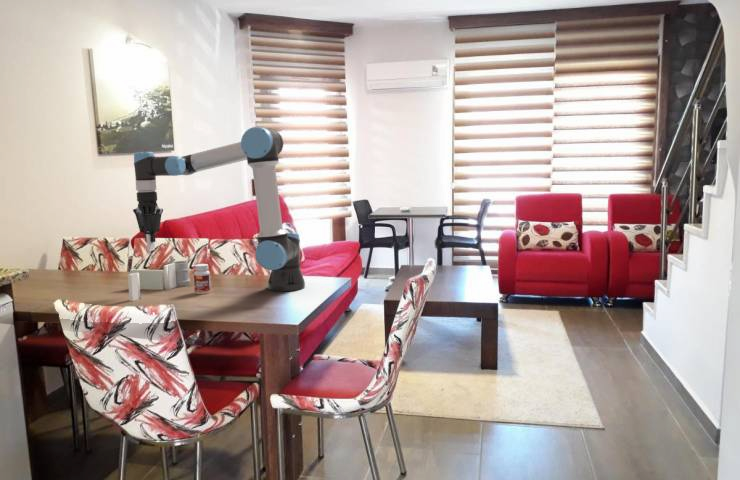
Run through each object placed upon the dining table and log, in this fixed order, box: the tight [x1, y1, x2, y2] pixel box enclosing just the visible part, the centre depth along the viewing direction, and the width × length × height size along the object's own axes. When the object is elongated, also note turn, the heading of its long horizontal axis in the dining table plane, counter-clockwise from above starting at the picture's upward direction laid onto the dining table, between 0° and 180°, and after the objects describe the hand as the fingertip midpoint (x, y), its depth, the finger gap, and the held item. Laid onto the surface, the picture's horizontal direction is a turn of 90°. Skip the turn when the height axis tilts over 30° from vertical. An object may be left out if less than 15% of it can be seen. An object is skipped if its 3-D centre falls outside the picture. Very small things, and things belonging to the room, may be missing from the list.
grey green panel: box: [129, 268, 165, 291], centre depth 236 cm, size 2×14×8 cm, turn 81°
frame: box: [127, 263, 177, 302], centre depth 228 cm, size 2×26×10 cm, turn 161°
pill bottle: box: [193, 263, 212, 295], centre depth 228 cm, size 6×6×11 cm
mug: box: [169, 255, 192, 288], centre depth 245 cm, size 8×12×12 cm, turn 54°
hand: (151, 250), depth 230 cm, fingers closed
